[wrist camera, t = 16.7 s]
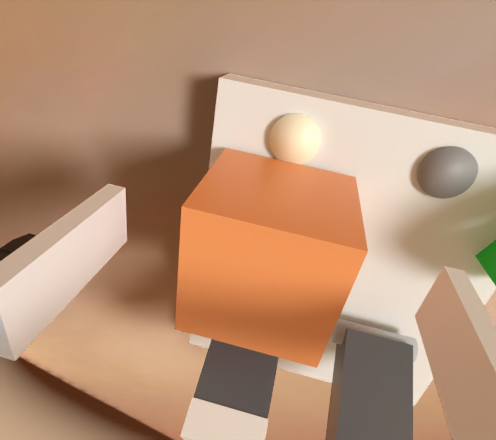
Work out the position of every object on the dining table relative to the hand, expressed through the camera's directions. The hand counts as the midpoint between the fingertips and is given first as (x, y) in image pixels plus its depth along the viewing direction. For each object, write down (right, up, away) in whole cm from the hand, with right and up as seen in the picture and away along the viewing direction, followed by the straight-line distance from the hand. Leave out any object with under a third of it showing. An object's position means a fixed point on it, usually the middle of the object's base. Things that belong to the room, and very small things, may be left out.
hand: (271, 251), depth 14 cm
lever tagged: (-1, -4, +6) cm, 7 cm away
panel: (+4, -1, +7) cm, 8 cm away
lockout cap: (+1, +1, +4) cm, 4 cm away
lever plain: (+6, -6, +5) cm, 10 cm away
